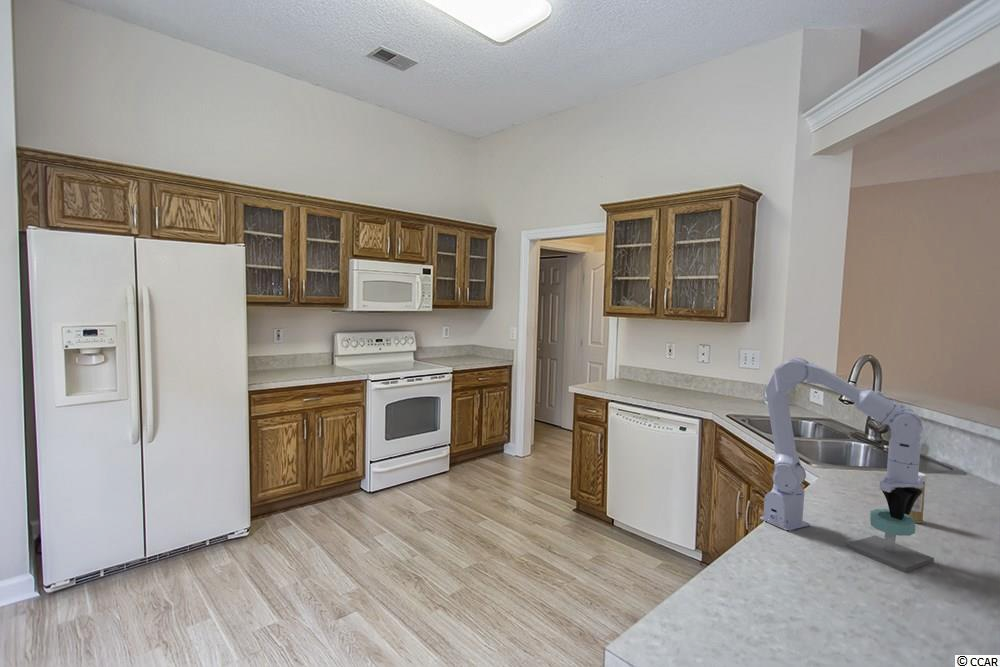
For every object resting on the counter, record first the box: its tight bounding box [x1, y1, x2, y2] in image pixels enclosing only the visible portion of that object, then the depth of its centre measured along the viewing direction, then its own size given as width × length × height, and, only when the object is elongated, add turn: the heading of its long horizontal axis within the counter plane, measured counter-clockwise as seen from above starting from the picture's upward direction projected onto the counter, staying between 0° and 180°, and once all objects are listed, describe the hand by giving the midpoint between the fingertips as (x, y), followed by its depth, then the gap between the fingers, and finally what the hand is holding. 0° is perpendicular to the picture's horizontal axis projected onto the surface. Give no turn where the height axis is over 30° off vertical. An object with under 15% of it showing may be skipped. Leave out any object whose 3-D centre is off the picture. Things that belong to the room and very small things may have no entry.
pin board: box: [845, 532, 935, 573], centre depth 113 cm, size 12×12×6 cm
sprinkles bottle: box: [909, 471, 927, 524], centre depth 134 cm, size 5×5×14 cm
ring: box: [869, 508, 916, 537], centre depth 113 cm, size 8×8×2 cm
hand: (899, 517), depth 114 cm, fingers closed on ring, 2 cm apart
